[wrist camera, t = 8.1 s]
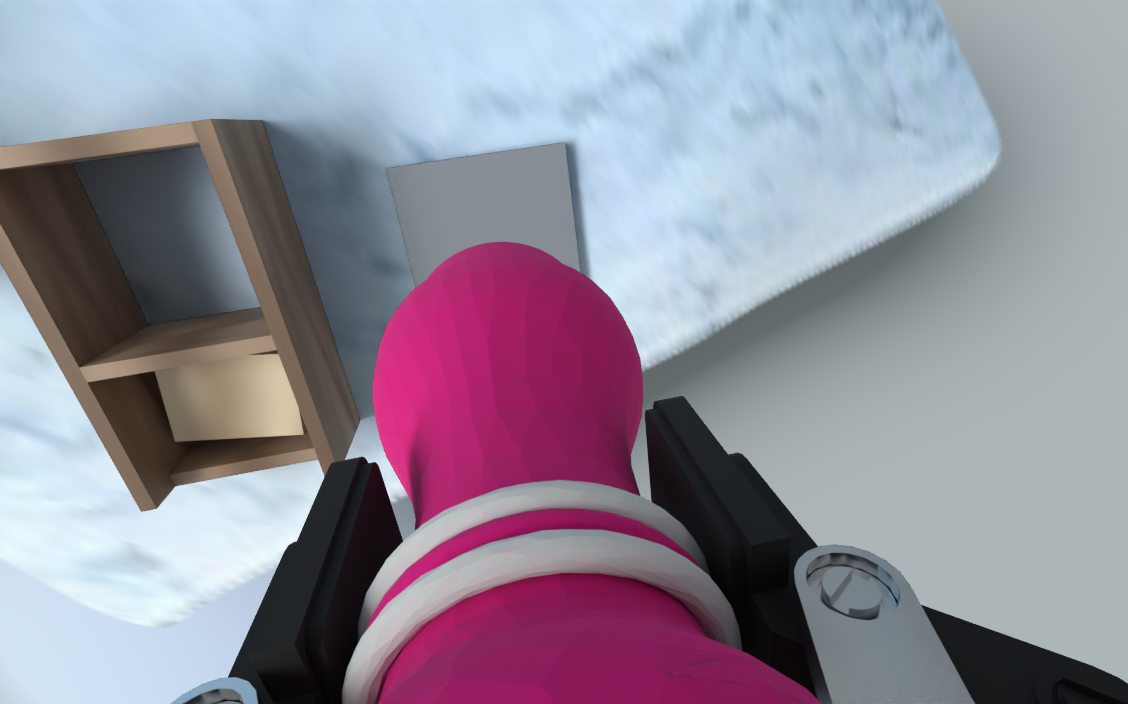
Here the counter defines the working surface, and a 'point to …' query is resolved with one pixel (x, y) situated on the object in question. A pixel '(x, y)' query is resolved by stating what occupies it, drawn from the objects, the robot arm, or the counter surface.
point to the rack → (136, 350)
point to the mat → (485, 205)
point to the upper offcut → (230, 399)
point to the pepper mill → (533, 510)
